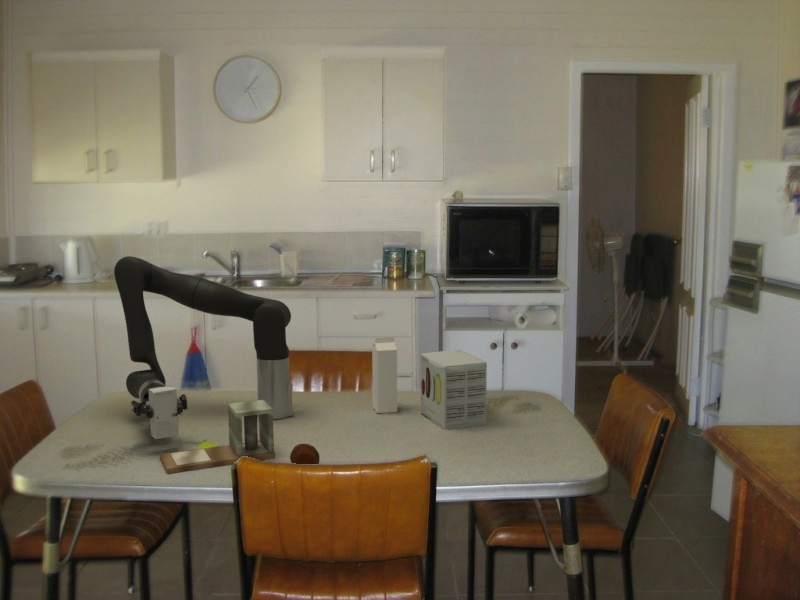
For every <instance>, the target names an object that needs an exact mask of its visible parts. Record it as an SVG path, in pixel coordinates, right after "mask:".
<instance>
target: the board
mask: <svg viewBox="0 0 800 600" xmlns="http://www.w3.org/2000/svg"><path fill="white" fill-rule="evenodd" d="M258 415H259V416H258ZM227 416H228V417H227V418H228V421H227V422H228V444H224V445H219V446H218V445H217V446H210V447H204V448H198V449H197V448H196V449H191V450H189V449H188V450H183V451H182V450H181V451H175V452H170V453H169V452H167V453H161V454H159V461H160V460H161V461H160V462H162V463H161V464H163V465H162V467H163V466H164V467H163V468H164V470H165V472H166V474H167V475H169V474H175V473H182V472H188V471H189V470H190V471H195V470H194V469H196V470H202V469H201V468H203V469H209V468H215V467H223V466H228V465H229V464H230V465H233V464H232V463H234V462H236V461H237V460H238V459H239V458H240V457H241V456H248V457H251V458H255V459H260V460H259V461H264V460H268V459H275V458H276V453H275V440H274V439H275V438H274V435H275V434H274V432H275V431H274V419H273V408H271V407H270V406H269V405H268V404H267V403H266V402H265V401H264V400H258V399H257V400H250V401H240V402H234V403H233V402H232V403H227ZM242 420H243V422H242ZM243 427H244V428H243ZM243 429H244V431H243ZM258 431H259V432H258ZM243 432H244V442H243ZM258 434H259V435H258ZM222 465H223V466H222Z"/></svg>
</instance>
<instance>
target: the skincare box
mask: <svg viewBox="0 0 800 600" xmlns="http://www.w3.org/2000/svg"><path fill="white" fill-rule="evenodd" d="M165 386H166V387H158V388H152V389H149V390H148V391H149V406H150V408H151V410H152V418H150V419H149V423H150V436H151V437H152V438H153V439H154V440H160V439H165V438H170V437H177V436H179V434H180V433H179V432H180V431H179V415H178V411H177V398H178V393H177V388H176V387H174V386H173V385H165Z"/></svg>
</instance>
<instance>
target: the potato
mask: <svg viewBox="0 0 800 600" xmlns="http://www.w3.org/2000/svg"><path fill="white" fill-rule="evenodd" d="M289 460H290V462H291V464H292V463H296V464H320V454H319V452H318V450H317V449H316V447H315V446H314V445H312V444H308V443H299V444H296V445H295V446H294V447H293V448H292V450H291V452H290V456H289Z"/></svg>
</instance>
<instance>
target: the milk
mask: <svg viewBox="0 0 800 600" xmlns="http://www.w3.org/2000/svg"><path fill="white" fill-rule="evenodd" d="M371 348H372V349H371V351H372V352H371V353H372V354H371V355H372V357H371V358H372V361H371V363H372V370H371V371H372V372H371V373H372V375H371V376H372V409H373V410H374V409H375V410H374V411H375V412H377V413H383V414H385V413H384V412H395V413H397V412H398V348H397V345H396V343H395V337H394V336H385V337H375V338H374V343H373V344H372V347H371ZM396 411H397V412H396ZM377 413H376V414H377Z"/></svg>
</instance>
